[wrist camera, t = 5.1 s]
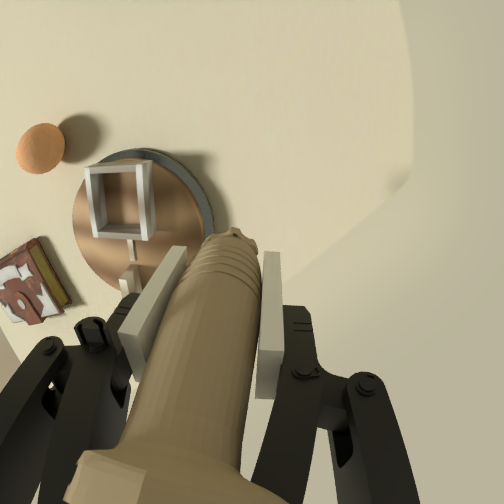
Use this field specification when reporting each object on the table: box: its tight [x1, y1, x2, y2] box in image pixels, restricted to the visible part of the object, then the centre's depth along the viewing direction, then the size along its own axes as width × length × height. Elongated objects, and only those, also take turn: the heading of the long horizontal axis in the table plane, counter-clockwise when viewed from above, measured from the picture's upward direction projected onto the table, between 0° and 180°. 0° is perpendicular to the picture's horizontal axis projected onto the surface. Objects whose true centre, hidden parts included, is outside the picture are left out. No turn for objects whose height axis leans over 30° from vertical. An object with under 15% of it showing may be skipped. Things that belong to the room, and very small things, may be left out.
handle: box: [63, 227, 289, 504], centre depth 10 cm, size 5×6×15 cm
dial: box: [72, 158, 205, 298], centre depth 34 cm, size 20×20×6 cm
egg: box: [16, 123, 65, 174], centre depth 29 cm, size 7×7×8 cm
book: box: [0, 238, 72, 325], centre depth 44 cm, size 23×16×5 cm
